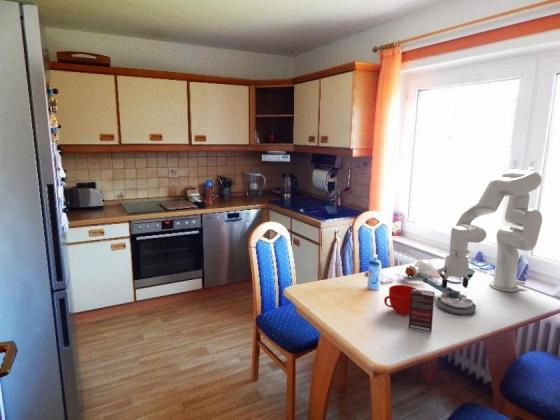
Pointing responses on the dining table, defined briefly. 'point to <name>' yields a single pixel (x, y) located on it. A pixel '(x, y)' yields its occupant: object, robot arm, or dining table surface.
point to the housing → (455, 311)
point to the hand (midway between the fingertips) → (454, 286)
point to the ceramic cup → (400, 298)
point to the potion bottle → (420, 268)
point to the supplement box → (421, 310)
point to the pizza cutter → (449, 295)
